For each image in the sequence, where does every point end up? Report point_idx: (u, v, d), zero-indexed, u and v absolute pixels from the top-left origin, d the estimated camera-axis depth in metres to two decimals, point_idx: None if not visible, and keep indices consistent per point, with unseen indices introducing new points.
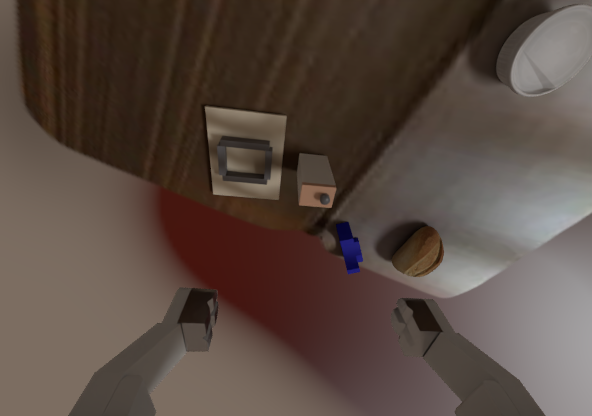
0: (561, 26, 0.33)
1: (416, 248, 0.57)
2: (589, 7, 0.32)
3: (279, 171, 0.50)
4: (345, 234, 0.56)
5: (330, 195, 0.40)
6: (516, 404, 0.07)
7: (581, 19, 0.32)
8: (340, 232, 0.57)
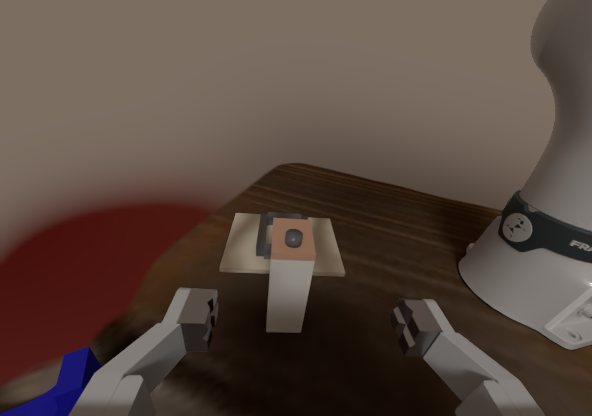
0: None
1: None
2: None
3: (269, 267, 0.35)
4: None
5: (298, 249, 0.22)
6: (516, 404, 0.07)
7: None
8: None
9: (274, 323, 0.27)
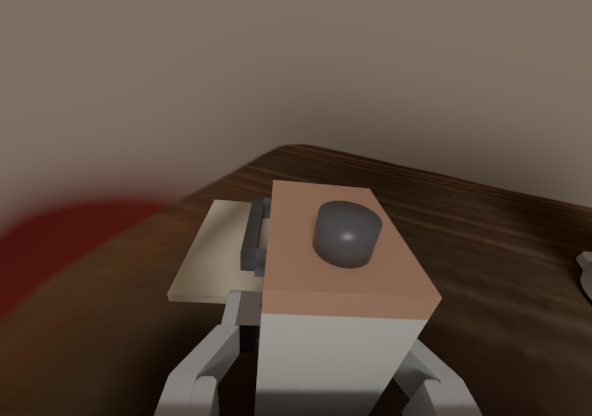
0: None
1: None
2: None
3: None
4: None
5: (367, 273, 0.06)
6: (454, 404, 0.07)
7: None
8: None
9: None
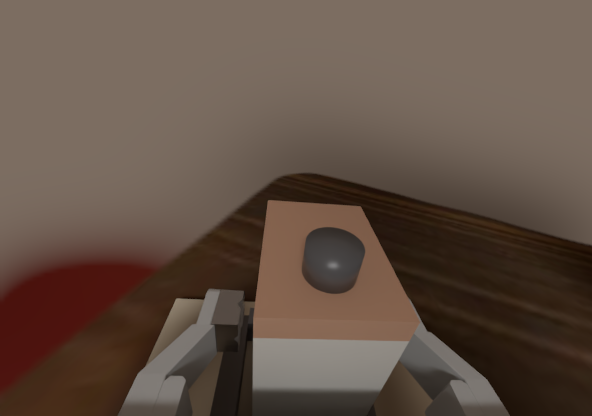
0: None
1: None
2: None
3: None
4: None
5: (351, 298, 0.06)
6: (481, 404, 0.07)
7: None
8: None
9: None
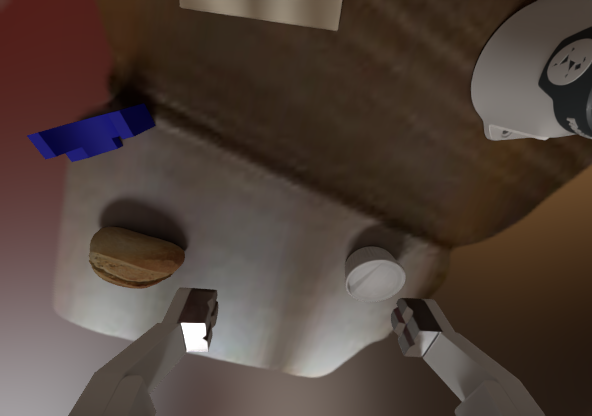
0: (394, 277, 0.45)
1: (151, 254, 0.39)
2: (402, 286, 0.46)
3: (243, 12, 0.28)
4: (135, 121, 0.30)
5: None
6: (516, 404, 0.07)
7: (395, 285, 0.46)
8: (134, 111, 0.31)
9: None
